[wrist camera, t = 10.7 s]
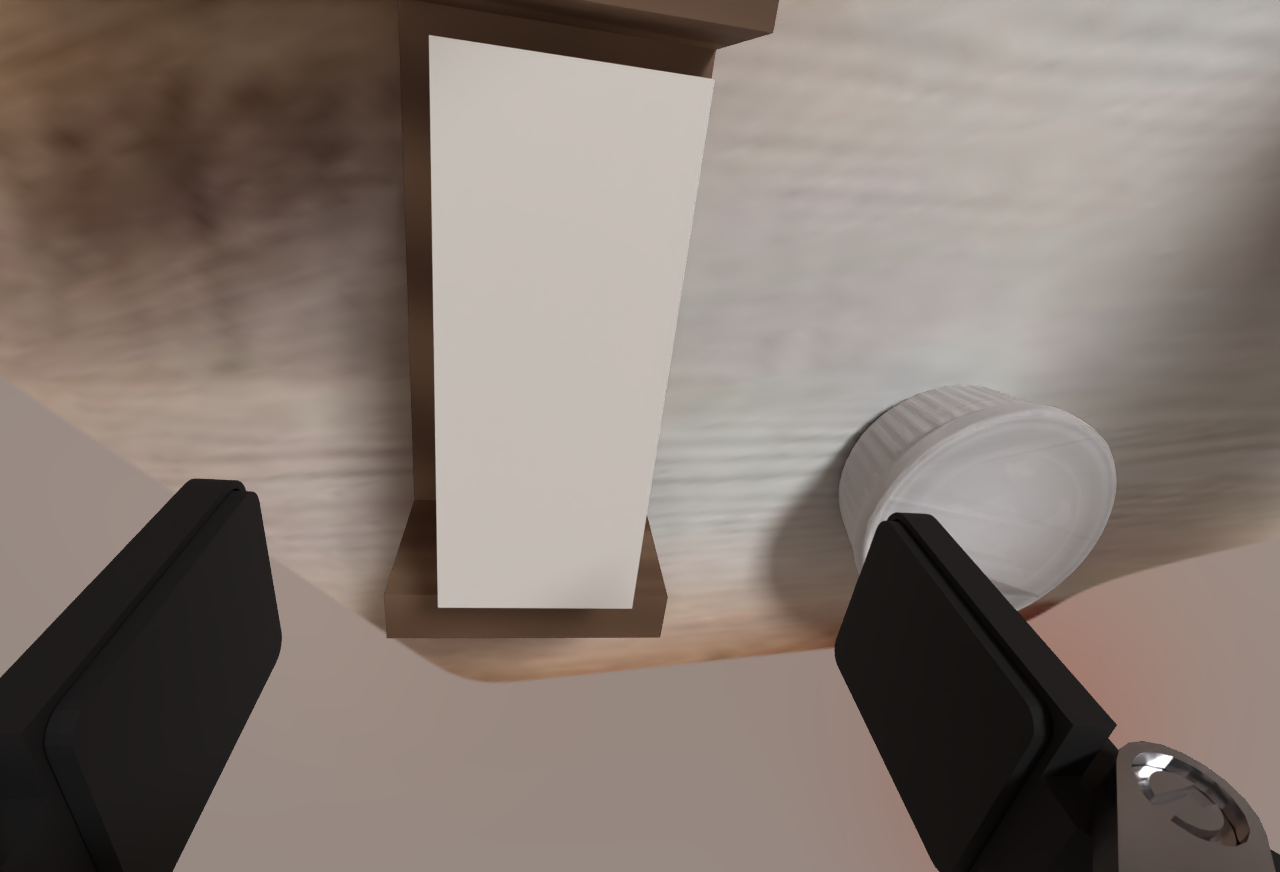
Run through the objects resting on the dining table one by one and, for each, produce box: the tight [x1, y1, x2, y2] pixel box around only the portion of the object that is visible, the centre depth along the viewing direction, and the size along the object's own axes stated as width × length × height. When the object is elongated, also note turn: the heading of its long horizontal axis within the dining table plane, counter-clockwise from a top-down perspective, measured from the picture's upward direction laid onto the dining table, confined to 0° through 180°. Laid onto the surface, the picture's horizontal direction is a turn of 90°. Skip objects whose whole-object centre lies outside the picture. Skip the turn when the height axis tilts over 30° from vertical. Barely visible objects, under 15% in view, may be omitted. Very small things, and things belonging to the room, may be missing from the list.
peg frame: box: [384, 0, 779, 638], centre depth 22 cm, size 22×10×7 cm, turn 173°
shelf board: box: [429, 35, 715, 609], centre depth 19 cm, size 15×6×4 cm, turn 173°
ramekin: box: [838, 385, 1117, 611], centre depth 30 cm, size 11×11×5 cm
